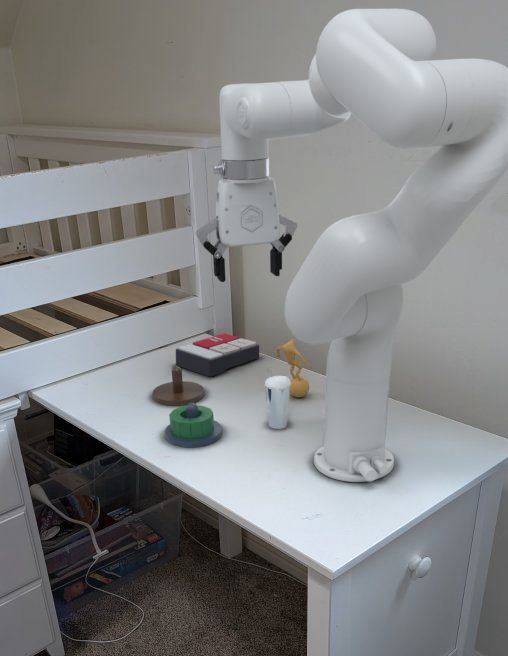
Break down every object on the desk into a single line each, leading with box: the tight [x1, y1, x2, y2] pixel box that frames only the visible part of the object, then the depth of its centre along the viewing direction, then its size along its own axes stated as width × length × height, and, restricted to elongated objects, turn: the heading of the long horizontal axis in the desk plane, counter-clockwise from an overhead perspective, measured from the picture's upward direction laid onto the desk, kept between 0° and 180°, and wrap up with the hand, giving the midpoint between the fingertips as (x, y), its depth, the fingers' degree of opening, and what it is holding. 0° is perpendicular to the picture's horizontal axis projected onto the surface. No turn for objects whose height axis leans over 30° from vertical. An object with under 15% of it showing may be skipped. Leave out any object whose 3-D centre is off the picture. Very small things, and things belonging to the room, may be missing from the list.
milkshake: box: [264, 366, 291, 430], centre depth 130 cm, size 4×5×10 cm
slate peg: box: [164, 402, 223, 448], centre depth 129 cm, size 10×10×6 cm
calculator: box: [175, 333, 260, 378], centre depth 160 cm, size 11×4×15 cm
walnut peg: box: [152, 365, 205, 407], centre depth 144 cm, size 10×10×6 cm
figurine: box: [276, 338, 312, 398], centre depth 140 cm, size 8×6×12 cm
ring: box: [168, 404, 215, 439], centre depth 129 cm, size 7×7×3 cm
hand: (248, 277), depth 128 cm, fingers open, 9 cm apart
